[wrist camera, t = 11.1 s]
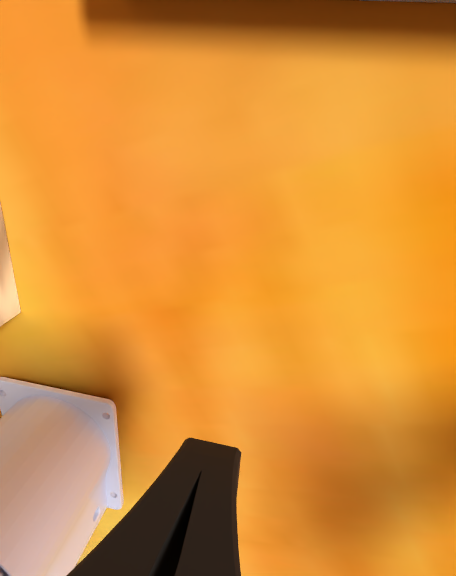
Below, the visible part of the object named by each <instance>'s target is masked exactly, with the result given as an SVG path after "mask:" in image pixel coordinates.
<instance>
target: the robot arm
mask: <svg viewBox="0 0 456 576" xmlns="http://www.w3.org/2000/svg"><path fill="white" fill-rule="evenodd" d="M0 410H1V414H2V417H1V418H0V576H241V572H240V562H239V550H238V534H237V514H236V497H237V488H238V478H239V469H240V459H241V452H240V451H239V449H238V448H235V447H230V446H226V445H221V444H217V443H212V442H208V441H203V440H199V439H194V438H188V439H186V440H185V441H184V443H183V444H182V446H181V447H180V449H179V450H178V451H177V453H176V454H175V456H174V457H173V458H172V460H171V461H170V462H169V464H168V465H167V466H166V468H165V469H164V470H163V471H162V473H161V474H160V475H159V477H158V478H157V479H156V480H155V482H154V483H153V484H152V485H151V486H150V488H149V489H148V490H147V491H146V492H145V493H144V495H143V496H142V497H141V498H140V499H139V501H138V502H137V503H136V504H135V505H134V506H133V508H132V509H131V510H130V511H129V512H128V513H127V514H126V515H125V517H124V518H123V519H122V520H121V521H120V522H119V523H118V524H117V525H116V526H115V527H114V528H113V529H112V530H111V531H110V532H109V534H108V535H107V536H106V537H105V538H104V539H103V540H102V541H101V542H100V543H99V544H98V545H97V546H96V547H95V548H94V549H93V550H92V551H91V552H90V553H89V554H88V555H87V556H86V557H85V558H84V559H83V560H82V561H81V562H80V563H79V564H78V565H77V566H76V564H77V562H78V560H79V558H80V556H81V555H82V553H83V551H84V549H85V547H86V545H87V543H88V542H89V540H90V538H91V536H92V534H93V532H94V530H95V529H96V527H97V525H98V523H99V521H100V519H101V517H102V516H103V514H104V512H105V510H106V508H107V507H108V508H112V509H120V508H121V507H122V505H123V489H122V476H121V464H120V451H119V438H118V426H117V413H116V405H115V403H114V402H113V401H111V400H109V399H106V398H101V397H96V396H91V395H87V394H82V393H77V392H72V391H68V390H63V389H58V388H53V387H49V386H44V385H39V384H34V383H30V382H25V381H20V380H15V379H11V378H6V377H0ZM107 413H108V414H107ZM75 566H76V567H75Z"/></svg>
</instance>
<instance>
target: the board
mask: <svg viewBox="0 0 456 576" xmlns="http://www.w3.org/2000/svg"><path fill="white" fill-rule="evenodd" d="M20 312H21V310H20V305H19V299H18V294H17V289H16V283H15V278H14V273H13V267H12V262H11V257H10V251H9V246H8V241H7V236H6V230H5V225H4V220H3V214H2V209H1V204H0V326H2V325H3V324H5V323H6V322H7V321H9V320H10V319H12V318H13V317H15V316H16V315H18V314H19V313H20Z"/></svg>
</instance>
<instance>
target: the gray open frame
mask: <svg viewBox="0 0 456 576" xmlns="http://www.w3.org/2000/svg"><path fill="white" fill-rule="evenodd" d="M361 1H399V2H438V3H456V0H361Z"/></svg>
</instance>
